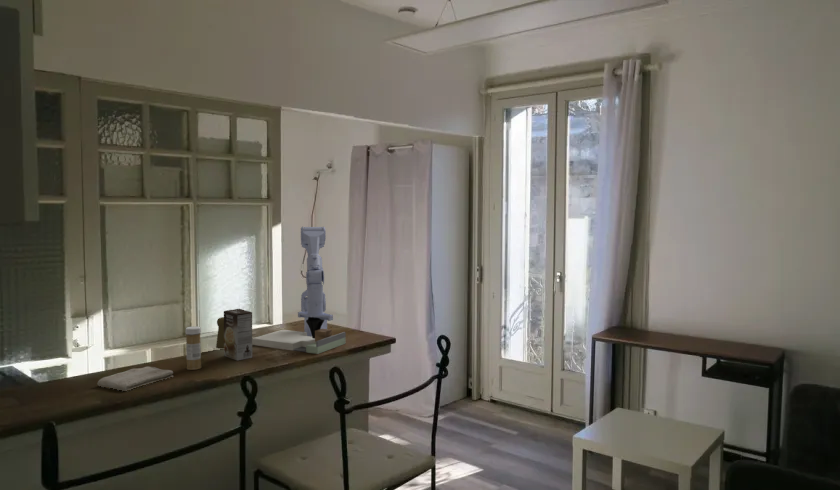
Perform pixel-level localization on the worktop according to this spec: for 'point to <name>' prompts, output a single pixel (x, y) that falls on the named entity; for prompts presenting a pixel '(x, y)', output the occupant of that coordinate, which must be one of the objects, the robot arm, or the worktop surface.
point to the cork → (220, 333)
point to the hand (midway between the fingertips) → (315, 337)
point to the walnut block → (322, 334)
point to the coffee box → (238, 334)
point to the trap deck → (299, 341)
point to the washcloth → (134, 378)
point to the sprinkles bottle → (193, 347)
